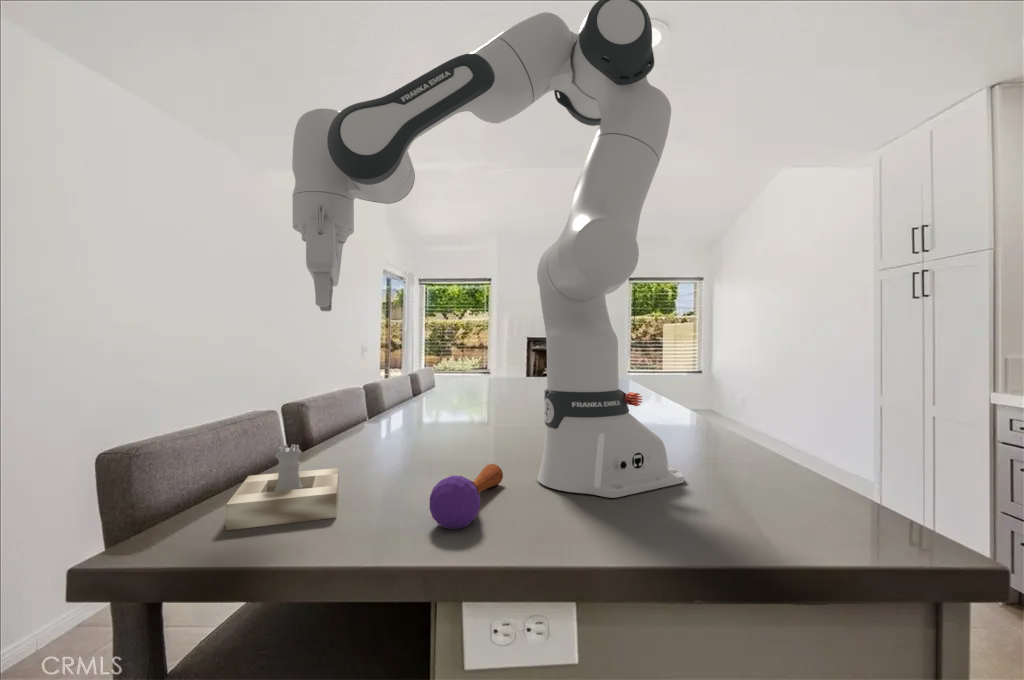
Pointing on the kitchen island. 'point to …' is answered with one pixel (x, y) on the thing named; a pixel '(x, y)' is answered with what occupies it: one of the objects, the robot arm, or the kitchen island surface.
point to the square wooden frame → (283, 500)
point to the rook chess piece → (288, 468)
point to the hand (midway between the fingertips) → (324, 308)
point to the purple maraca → (461, 497)
